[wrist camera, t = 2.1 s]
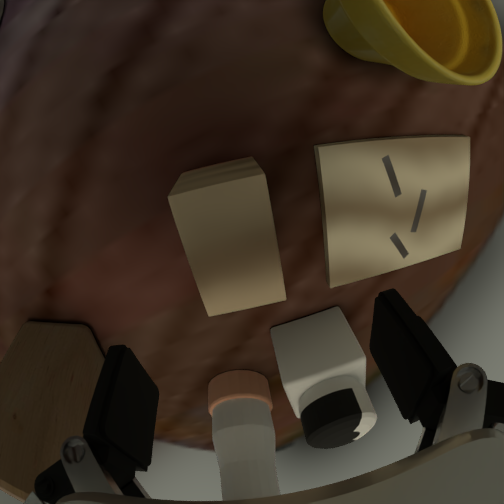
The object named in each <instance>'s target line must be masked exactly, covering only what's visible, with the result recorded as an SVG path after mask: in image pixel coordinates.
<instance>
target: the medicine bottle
mask: <svg viewBox="0 0 504 504" xmlns="http://www.w3.org/2000/svg"><path fill="white" fill-rule="evenodd" d="M270 333H271V337H272V341H273V346H274V350H275V354H276V359H277V363H278V367H279V371H280V376H281V380H282V384H283V387H284V389H285V392H286V394H287V396H288V399H289V401H290V403H291V406H292V408H293V410H294V412H295V415H296V417H297V418H301V422H302V426H303V430H304V433H305V437H306V441H307V443H308V444H309V445H310V446H312V447H314V448H324V449H328V448H335V447H339V446H343V445H345V444H348V443H351V442H353V441H355V440H357V439H359V438H360V437H362V436H363V435H365V434H366V433H367V432H368V431H369V430H370V429H371V428H372V427H373V426H374V424H375V422H376V419H377V415H376V412H375V410H374V408H373V406H372V403H371V401H370V399H369V397H368V394H367V392H366V390H365V378H366V356H365V354H364V352H363V350H362V348H361V346H360V345H359V343H358V341H357V339H356V337H355V335H354V333H353V331H352V329H351V328H350V326H349V324H348V322H347V320H346V318H345V316H344V315H343V313H342V311H341V309H340V308H339V307H338V306H337V307H333V308H331V309H328V310H325V311H322V312H319V313H316V314H313V315H310V316H307V317H304V318H301V319H298V320H295V321H292V322H289V323H286V324H282V325H279V326H276V327H273V328H271V330H270Z"/></svg>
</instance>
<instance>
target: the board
mask: <svg viewBox="0 0 504 504" xmlns="http://www.w3.org/2000/svg"><path fill="white" fill-rule="evenodd" d="M314 151H315V159H316V167H317V175H318V183H319V192H320V202H321V212H322V223H323V235H324V248H325V264H326V282H327V284H328V285H329V287H330V288H333V287H336V286H340V285H344V284H347V283H351V282H355V281H358V280H362V279H365V278H369V277H372V276H376V275H379V274H383V273H386V272H390V271H393V270H396V269H399V268H403V267H406V266H409V265H412V264H416V263H419V262H422V261H425V260H428V259H431V258H434V257H437V256H440V255H443V254H446V253H449V252H452V251H455V250H458V249H460V248H461V242H462V237H463V230H464V224H465V217H466V208H467V199H468V188H469V172H470V137H468V136H465V135H422V136H401V137H386V138H373V139H363V140H353V141H344V142H336V143H328V144H320V145H314Z"/></svg>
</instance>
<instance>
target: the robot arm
mask: <svg viewBox="0 0 504 504" xmlns="http://www.w3.org/2000/svg"><path fill="white" fill-rule="evenodd" d="M3 7H4V0H0V20H1V16H2V13H3ZM370 352H371V354H372V356H373V358H374V360H375V362H376V364H377V366H378V368H379V370H380V372H381V373H382V375H383V377H384V379H385V381H386V383H387V385H388V387H389V389H390V391H391V394H392V396H393V397H394V400H395V402H396V404H397V405H398V408H399V410H400V412H401V414H402V416H403V418H404V419H408V420H409V422H410V424H412V423H413V422H416V421H418V420H420V422H421V424H422V426H423V430H422V433H421V436H420V439H419V442H418V445H417V448H416V451H415V454H413V455H411V456H408V457H407V458H404V459H402V460H399V461H397V462H395V463H392V464H389V465H387V466H384V467H382V468H379V469H377V470H374V471H371V472H368V473H365V474H363V475H360V476H357V477H353V478H350V479H347V480H344V481H340V482H337V483H333V484H329V485H326V486H322V487H318V488H314V489H309V490H304V491H299V492H295V493H289V494H283V495H277V496H270V497H263V498H254V499H243V500H229V501H174V500H159V499H151V497H150V496H149V495H148V494H147V492H146V491H145V490H144V488H143V487H142V486H141V484H140V483H139V481H138V480H137V479H136V477H135V471H145V472H146V471H147V468H148V466H149V465H150V464H151V458H152V448H153V447H152V446H153V439H154V430H155V422H156V414H157V407H158V400H159V390H158V388H157V386H156V385H155V383H154V382H153V381H152V379H151V378H150V377H149V375H148V374H147V372H146V371H145V370H144V368H143V367H142V365H141V364H140V362H139V361H138V359H137V358H136V356H135V355H134V353H133V352H132V350H131V349H130V348H127V347H126V346H125V345H115V346H110V348H109V350H108V352H107V355H106V358H105V361H104V363H103V366H102V369H101V372H100V375H99V378H98V381H97V384H96V387H95V390H94V394H93V397H92V400H91V403H90V407H89V410H88V414H87V417H86V421H85V424H84V428H83V432H82V433H83V438H82V437H81V436H77V435H76V436H71V437H69V438H67V439H66V440H65V441H64V442H63V444H62V446H61V449H60V457H61V459H60V460H58V461H57V462H56V463H54V464H53V465H51V466H50V467H49V468H47V469H46V470H44V471H43V472H41V473H40V474H39V475H38V476H37V477H36V479H35V483H34V489H35V492H33V491H32V492H31V494H30V495H29V496H28V498H27V499H26V500H25V502H24V503H23V504H504V383H501V382H496V381H492V380H487V376H486V373H485V371H484V370H483V369H482V368H481V367H480V366H478V365H476V364H473V363H465V364H462V365H460V366H459V367H457V366H456V364H455V363H454V361H453V360H452V358H451V357H450V355H449V354H448V353H447V351H446V350H445V349H444V347H443V346H442V344H441V343H440V342H439V340H438V339H437V338H436V336H435V335H434V334H433V332H432V331H431V330H430V328H429V327H428V326H427V324H426V323H425V322H424V320H423V319H422V318H421V317H419V316H416V314H415V313H414V312H413V310H412V309H411V308H410V307H409V305H408V304H407V303H406V302H405V300H404V299H403V298H402V297H401V295H400V294H399V293H398V292H397V291H396V290H395V289H389V290H386V291H383V292H380V293H379V295H378V297H376V298H375V304H374V314H373V323H372V331H371V338H370Z"/></svg>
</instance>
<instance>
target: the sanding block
mask: <svg viewBox="0 0 504 504" xmlns="http://www.w3.org/2000/svg"><path fill="white" fill-rule="evenodd" d="M168 200H169V204H170V207H171V210H172V213H173V216H174V220H175V223H176V226H177V229H178V232H179V235H180V238H181V241H182V244H183V247H184V250H185V253H186V256H187V259H188V261H189V264H190V267H191V270H192V273H193V275H194V278H195V281H196V284H197V286H198V289H199V292H200V295H201V297H202V300H203V303H204V305H205V308H206V310H207V313H208V316H214V315H219V314H224V313H229V312H234V311H239V310H243V309H248V308H253V307H257V306H262V305H266V304H271V303H275V302H279V301H283V300H286V294H285V287H284V281H283V275H282V268H281V262H280V256H279V250H278V244H277V238H276V232H275V227H274V221H273V215H272V209H271V204H270V198H269V193H268V187H267V182H266V176H265V173H264V172H263V170H262V169H261V168H260V166H259V165H258V164H257V162H256V161H255V160H254V158H253V157H252V156H250V157H245V158H241V159H236V160H231V161H227V162H223V163H218V164H214V165H210V166H206V167H202V168H198V169H194V170H190V171H186V172H183V173H182V174H181V175H180V177H179V178H178V180H177V182H176V183H175V185H174V187H173V188H172V190H171V192H170V193H169V195H168Z"/></svg>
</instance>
